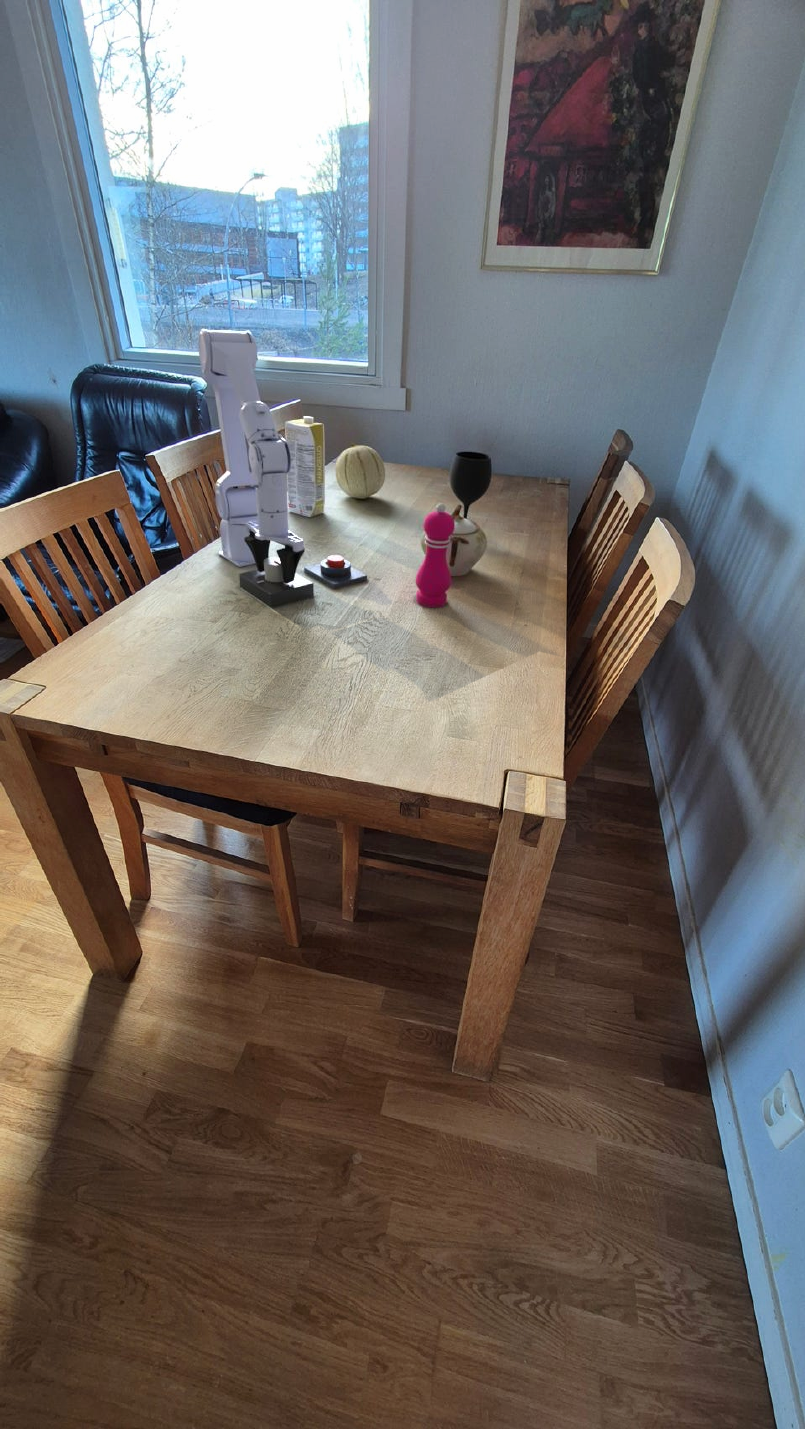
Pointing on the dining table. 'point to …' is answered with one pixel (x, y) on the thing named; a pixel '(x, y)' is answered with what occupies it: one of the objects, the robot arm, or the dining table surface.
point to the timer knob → (273, 569)
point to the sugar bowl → (463, 545)
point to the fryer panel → (275, 588)
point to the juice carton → (306, 466)
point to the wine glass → (470, 477)
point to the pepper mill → (435, 559)
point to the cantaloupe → (360, 471)
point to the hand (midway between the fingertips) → (275, 576)
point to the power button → (335, 561)
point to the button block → (335, 574)
